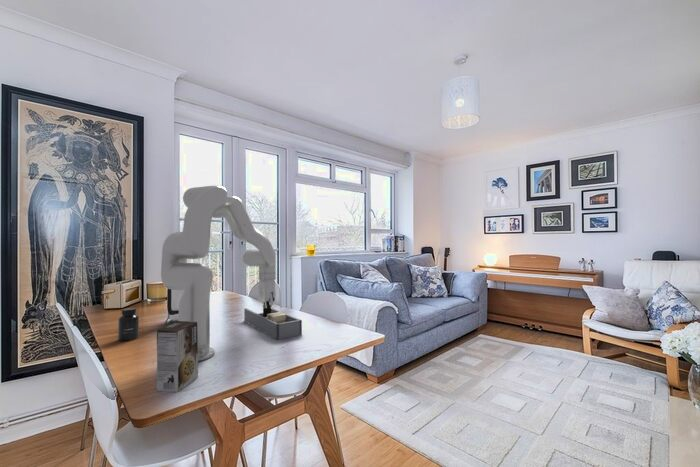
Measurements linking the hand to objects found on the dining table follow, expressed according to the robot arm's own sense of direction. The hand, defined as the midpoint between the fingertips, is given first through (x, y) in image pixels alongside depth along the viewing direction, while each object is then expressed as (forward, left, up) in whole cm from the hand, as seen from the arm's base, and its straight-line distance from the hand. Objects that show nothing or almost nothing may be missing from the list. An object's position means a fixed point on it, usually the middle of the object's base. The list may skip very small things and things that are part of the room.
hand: (267, 316), depth 147 cm
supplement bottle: (+17, +52, -5) cm, 54 cm away
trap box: (-3, 0, -4) cm, 5 cm away
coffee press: (+34, +30, -5) cm, 45 cm away
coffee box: (-41, +43, -5) cm, 60 cm away
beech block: (-8, -1, -2) cm, 8 cm away
